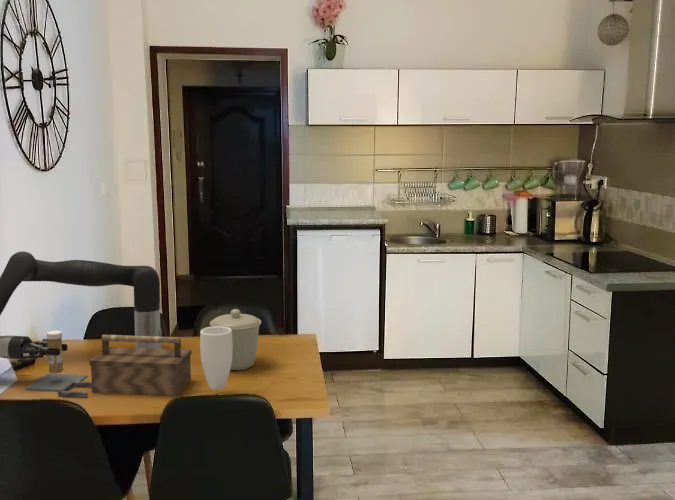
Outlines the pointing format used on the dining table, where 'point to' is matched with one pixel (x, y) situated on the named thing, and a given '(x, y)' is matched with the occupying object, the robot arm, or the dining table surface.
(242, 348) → the canister
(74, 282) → the robot arm
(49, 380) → the slate mat
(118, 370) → the toolbox
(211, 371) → the cup
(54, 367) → the sprinkles bottle
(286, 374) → the dining table surface
